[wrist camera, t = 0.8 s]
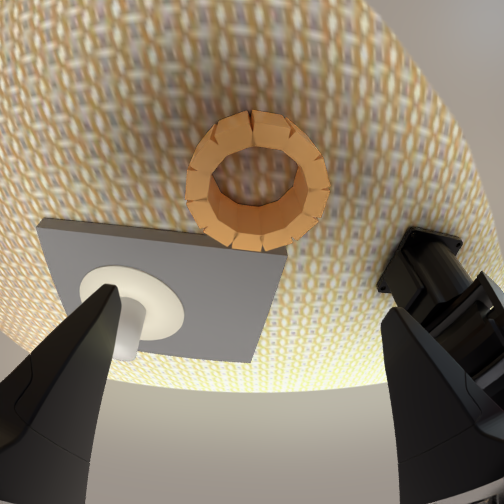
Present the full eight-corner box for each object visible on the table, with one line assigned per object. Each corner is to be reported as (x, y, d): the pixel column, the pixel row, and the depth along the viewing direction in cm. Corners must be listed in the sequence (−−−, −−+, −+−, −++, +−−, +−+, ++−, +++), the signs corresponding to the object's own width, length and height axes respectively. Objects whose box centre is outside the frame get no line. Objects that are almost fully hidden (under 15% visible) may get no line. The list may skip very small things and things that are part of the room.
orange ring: (328, 125, 15) (346, 141, 12) (298, 227, 19) (306, 257, 16) (201, 103, 14) (192, 114, 11) (190, 213, 18) (182, 242, 16)
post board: (285, 244, 20) (297, 307, 15) (249, 352, 28) (252, 401, 24) (43, 217, 17) (6, 267, 13) (81, 330, 26) (67, 374, 22)
